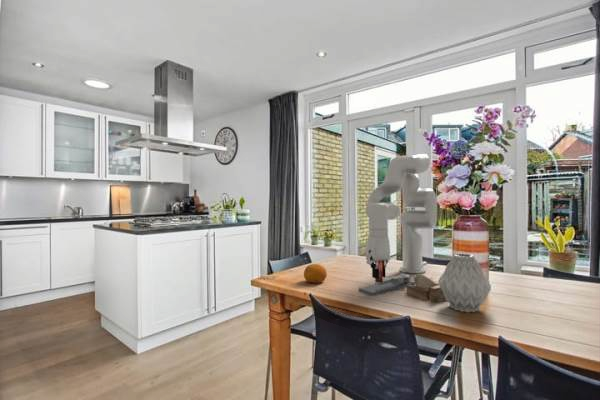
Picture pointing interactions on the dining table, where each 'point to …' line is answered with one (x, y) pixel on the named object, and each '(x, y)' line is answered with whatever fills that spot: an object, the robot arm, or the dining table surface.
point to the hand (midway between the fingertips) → (378, 276)
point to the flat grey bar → (385, 287)
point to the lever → (393, 280)
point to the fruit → (315, 273)
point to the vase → (464, 283)
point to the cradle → (426, 292)
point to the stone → (423, 281)
